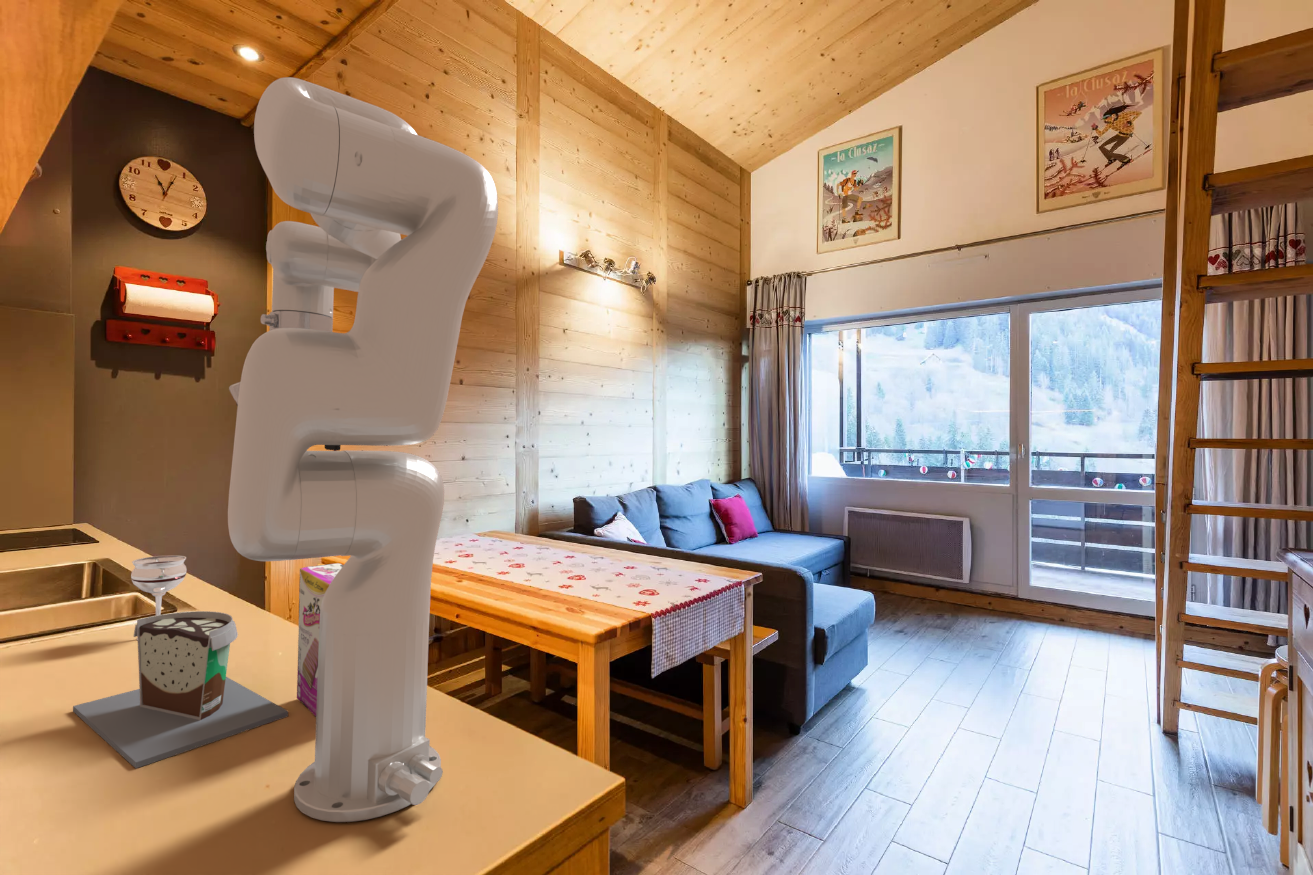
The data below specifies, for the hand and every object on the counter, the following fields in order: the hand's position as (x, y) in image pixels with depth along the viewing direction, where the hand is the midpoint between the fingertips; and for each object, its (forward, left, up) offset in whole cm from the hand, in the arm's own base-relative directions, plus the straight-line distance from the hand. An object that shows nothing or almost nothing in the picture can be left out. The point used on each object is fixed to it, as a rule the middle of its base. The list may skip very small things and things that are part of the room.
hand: (298, 449), depth 86 cm
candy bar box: (-18, +4, -31) cm, 36 cm away
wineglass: (+27, +7, -31) cm, 41 cm away
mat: (-6, +15, -30) cm, 34 cm away
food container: (-6, +13, -30) cm, 33 cm away
